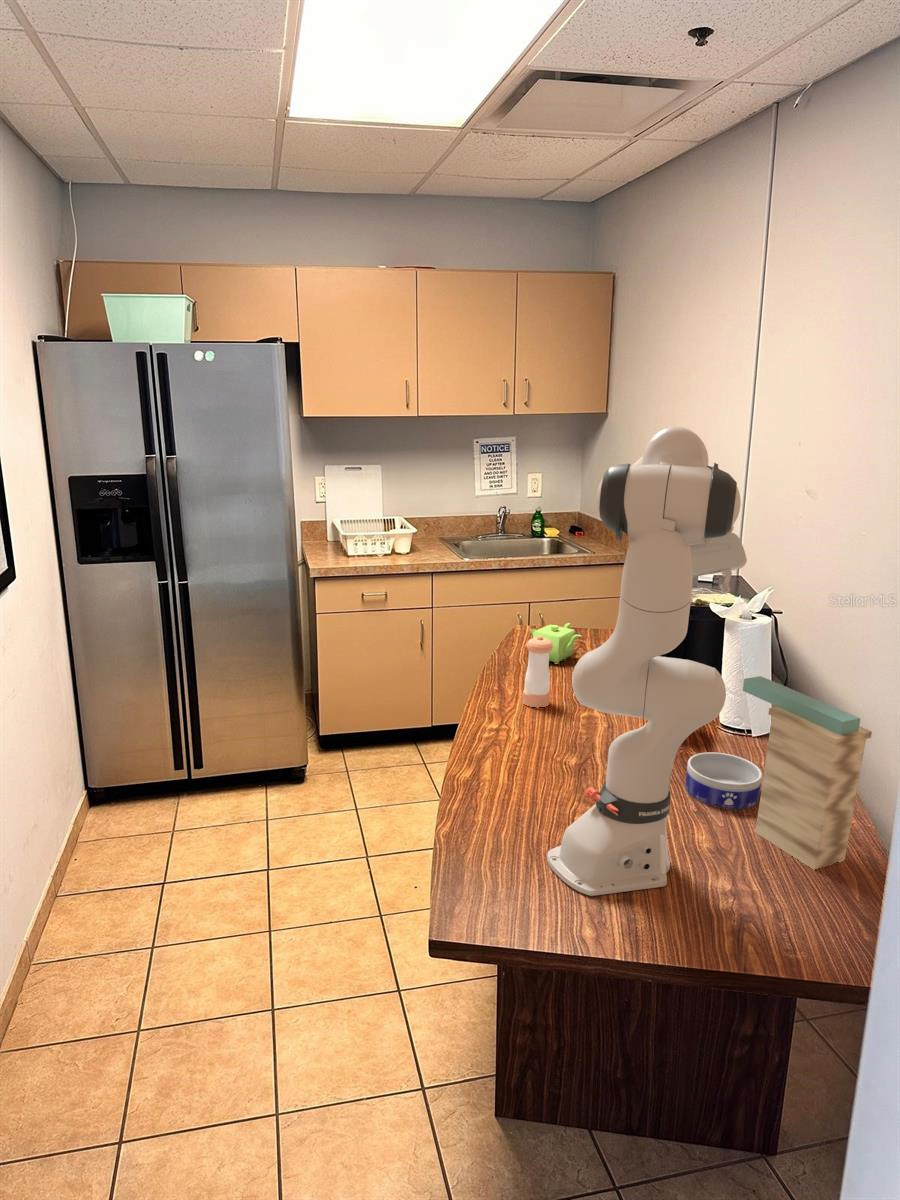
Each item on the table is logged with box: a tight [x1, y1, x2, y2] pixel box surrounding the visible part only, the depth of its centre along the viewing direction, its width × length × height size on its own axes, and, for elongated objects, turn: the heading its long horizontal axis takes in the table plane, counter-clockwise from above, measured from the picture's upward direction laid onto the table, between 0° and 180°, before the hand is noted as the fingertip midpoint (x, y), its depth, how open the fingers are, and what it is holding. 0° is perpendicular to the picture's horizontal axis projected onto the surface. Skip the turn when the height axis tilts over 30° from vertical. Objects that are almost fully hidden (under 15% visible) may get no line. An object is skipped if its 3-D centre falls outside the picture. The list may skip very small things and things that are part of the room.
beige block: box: [754, 706, 873, 871], centre depth 153 cm, size 9×15×26 cm, turn 26°
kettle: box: [529, 622, 583, 664], centre depth 258 cm, size 15×14×11 cm
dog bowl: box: [685, 751, 763, 810], centre depth 176 cm, size 15×15×6 cm
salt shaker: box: [522, 636, 553, 708], centre depth 220 cm, size 7×7×19 cm
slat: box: [742, 675, 861, 735], centre depth 153 cm, size 4×23×2 cm, turn 26°
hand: (703, 596), depth 171 cm, fingers open, 8 cm apart
